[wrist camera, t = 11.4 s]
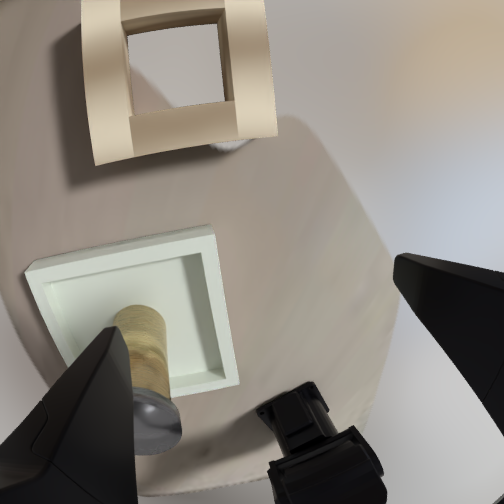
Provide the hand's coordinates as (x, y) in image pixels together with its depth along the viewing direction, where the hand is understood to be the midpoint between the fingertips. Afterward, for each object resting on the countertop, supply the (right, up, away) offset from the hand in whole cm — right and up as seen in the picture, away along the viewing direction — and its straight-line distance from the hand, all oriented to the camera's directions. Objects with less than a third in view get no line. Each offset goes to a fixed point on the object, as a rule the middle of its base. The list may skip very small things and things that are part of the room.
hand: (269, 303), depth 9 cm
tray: (-9, -4, +13) cm, 16 cm away
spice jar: (-9, -4, +12) cm, 16 cm away
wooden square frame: (-5, +13, +7) cm, 15 cm away
